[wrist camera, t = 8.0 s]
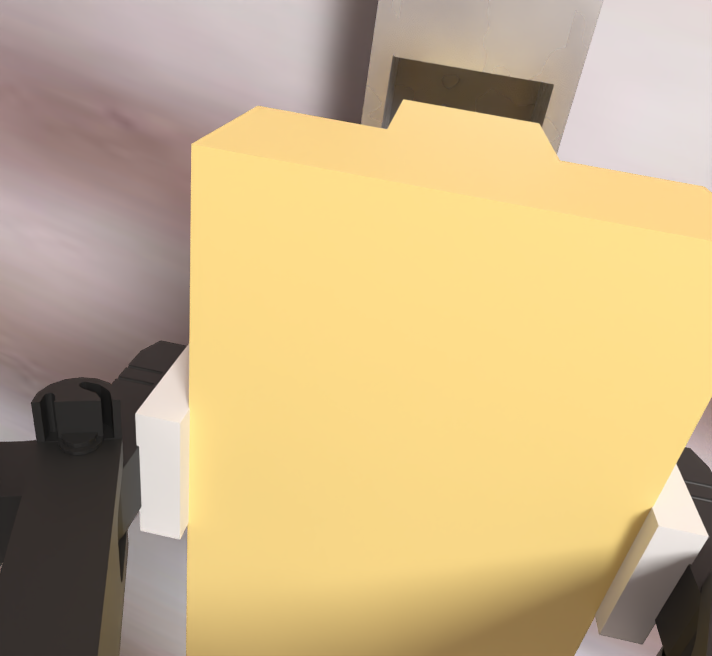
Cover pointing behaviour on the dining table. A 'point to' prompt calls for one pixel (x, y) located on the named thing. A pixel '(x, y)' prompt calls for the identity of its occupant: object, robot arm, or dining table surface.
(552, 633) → the yellow bridge
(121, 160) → the dining table surface
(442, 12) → the rail
